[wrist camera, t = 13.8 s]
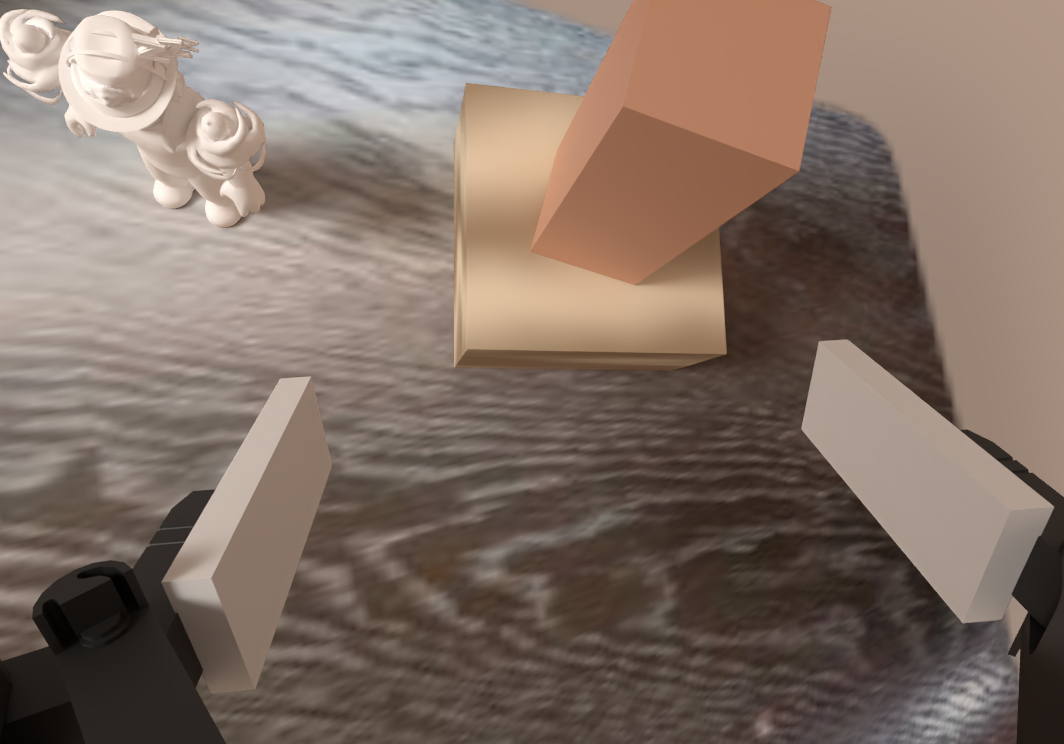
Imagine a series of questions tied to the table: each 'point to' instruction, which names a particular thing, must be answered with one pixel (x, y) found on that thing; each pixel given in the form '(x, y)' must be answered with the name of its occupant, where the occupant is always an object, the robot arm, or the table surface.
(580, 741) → the table surface
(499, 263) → the beech block
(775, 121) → the tall block
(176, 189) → the white figurine
